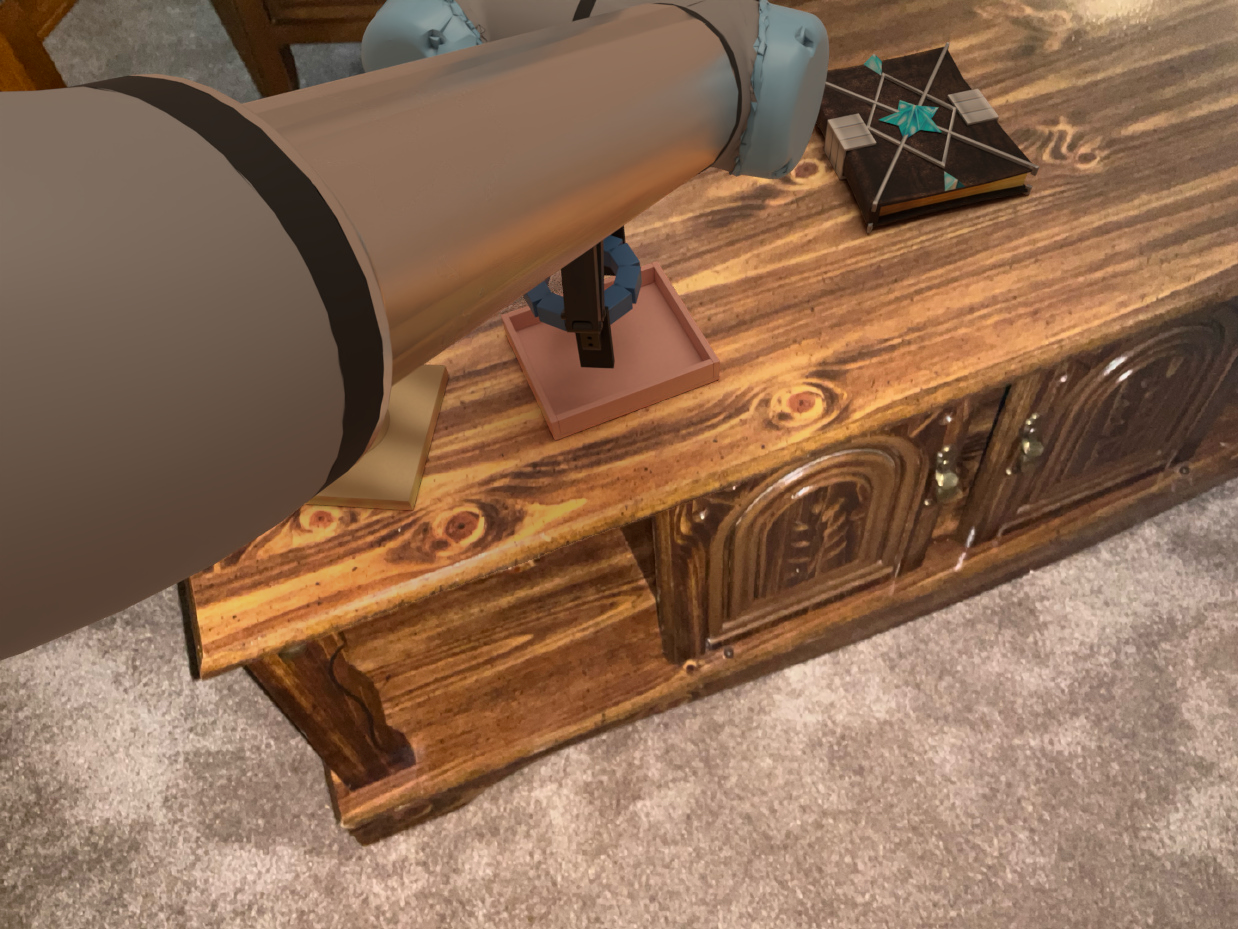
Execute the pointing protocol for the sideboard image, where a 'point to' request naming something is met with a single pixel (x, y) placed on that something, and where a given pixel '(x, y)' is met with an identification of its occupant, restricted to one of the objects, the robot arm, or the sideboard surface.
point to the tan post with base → (394, 448)
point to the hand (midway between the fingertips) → (605, 316)
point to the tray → (643, 351)
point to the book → (916, 138)
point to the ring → (615, 296)
